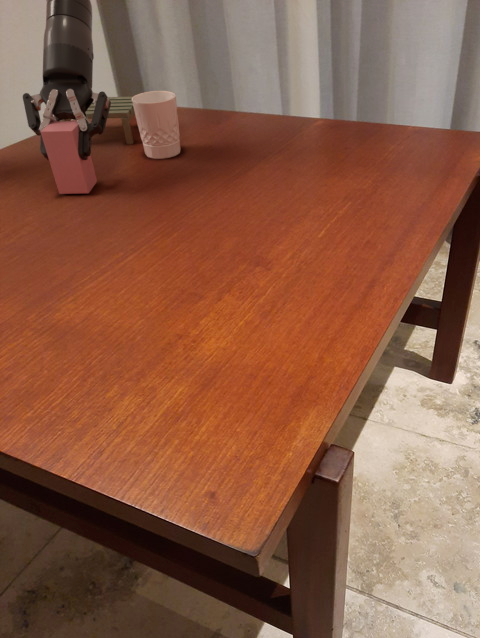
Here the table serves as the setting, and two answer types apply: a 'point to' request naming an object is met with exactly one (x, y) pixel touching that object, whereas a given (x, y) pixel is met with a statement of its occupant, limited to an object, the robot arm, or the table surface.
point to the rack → (118, 114)
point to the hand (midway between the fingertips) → (65, 157)
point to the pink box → (68, 158)
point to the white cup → (158, 123)
